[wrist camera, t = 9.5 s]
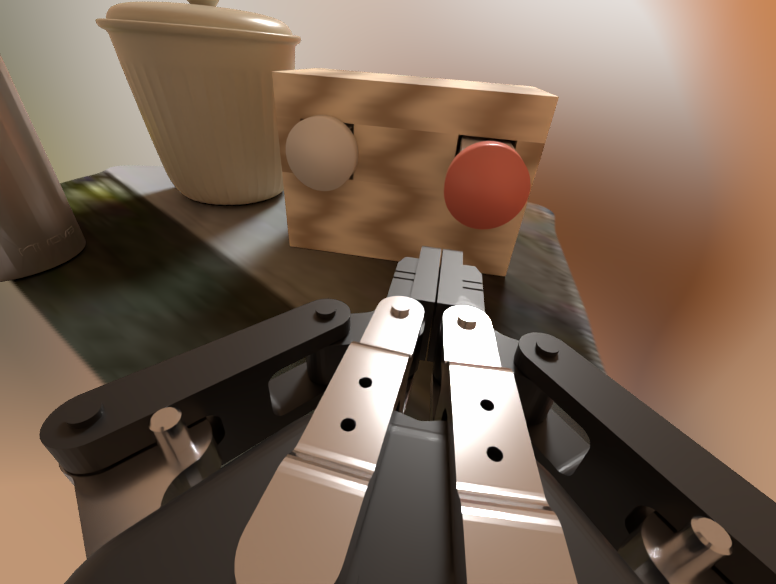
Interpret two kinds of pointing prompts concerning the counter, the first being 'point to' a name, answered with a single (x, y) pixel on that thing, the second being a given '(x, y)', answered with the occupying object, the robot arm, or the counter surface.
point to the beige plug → (322, 152)
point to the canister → (207, 93)
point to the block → (404, 160)
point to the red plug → (486, 183)
